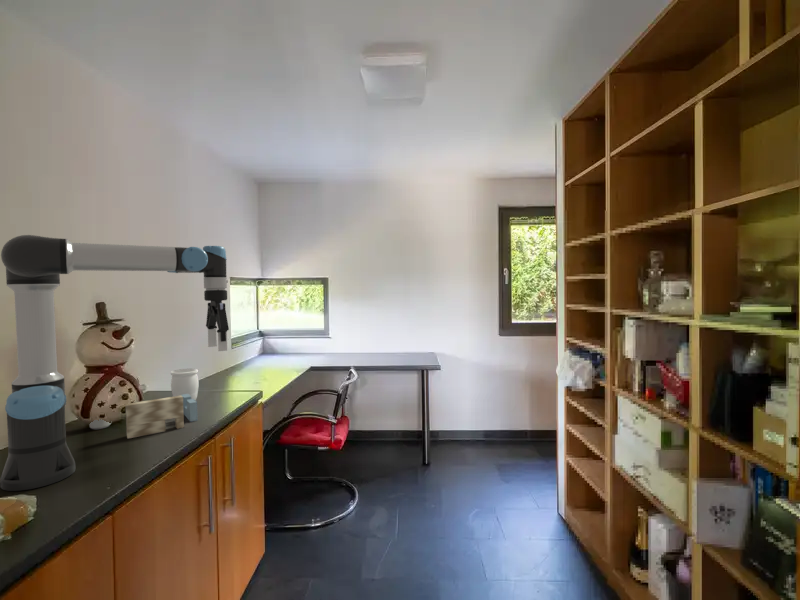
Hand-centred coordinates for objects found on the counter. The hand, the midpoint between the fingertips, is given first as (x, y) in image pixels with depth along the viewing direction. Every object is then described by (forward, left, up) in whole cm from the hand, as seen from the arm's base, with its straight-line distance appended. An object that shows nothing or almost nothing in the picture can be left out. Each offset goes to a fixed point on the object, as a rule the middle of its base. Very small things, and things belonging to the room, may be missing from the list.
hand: (217, 348), depth 152 cm
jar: (-4, +37, -28) cm, 46 cm away
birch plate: (-19, +8, -28) cm, 35 cm away
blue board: (-6, +20, -28) cm, 35 cm away
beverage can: (-34, +27, -28) cm, 52 cm away
